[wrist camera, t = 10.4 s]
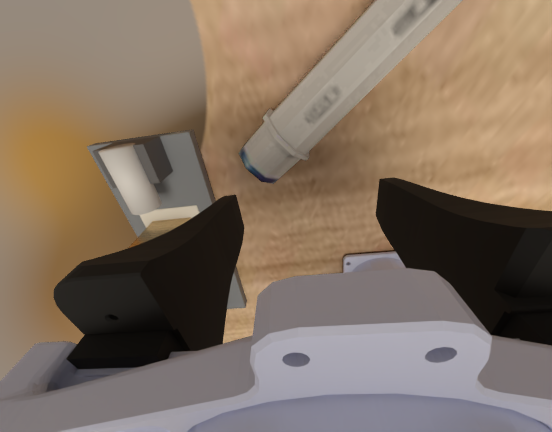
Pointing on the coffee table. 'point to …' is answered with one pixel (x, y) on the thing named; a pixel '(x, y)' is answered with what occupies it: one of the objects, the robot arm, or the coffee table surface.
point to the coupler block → (158, 229)
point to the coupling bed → (160, 183)
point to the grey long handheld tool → (340, 82)
